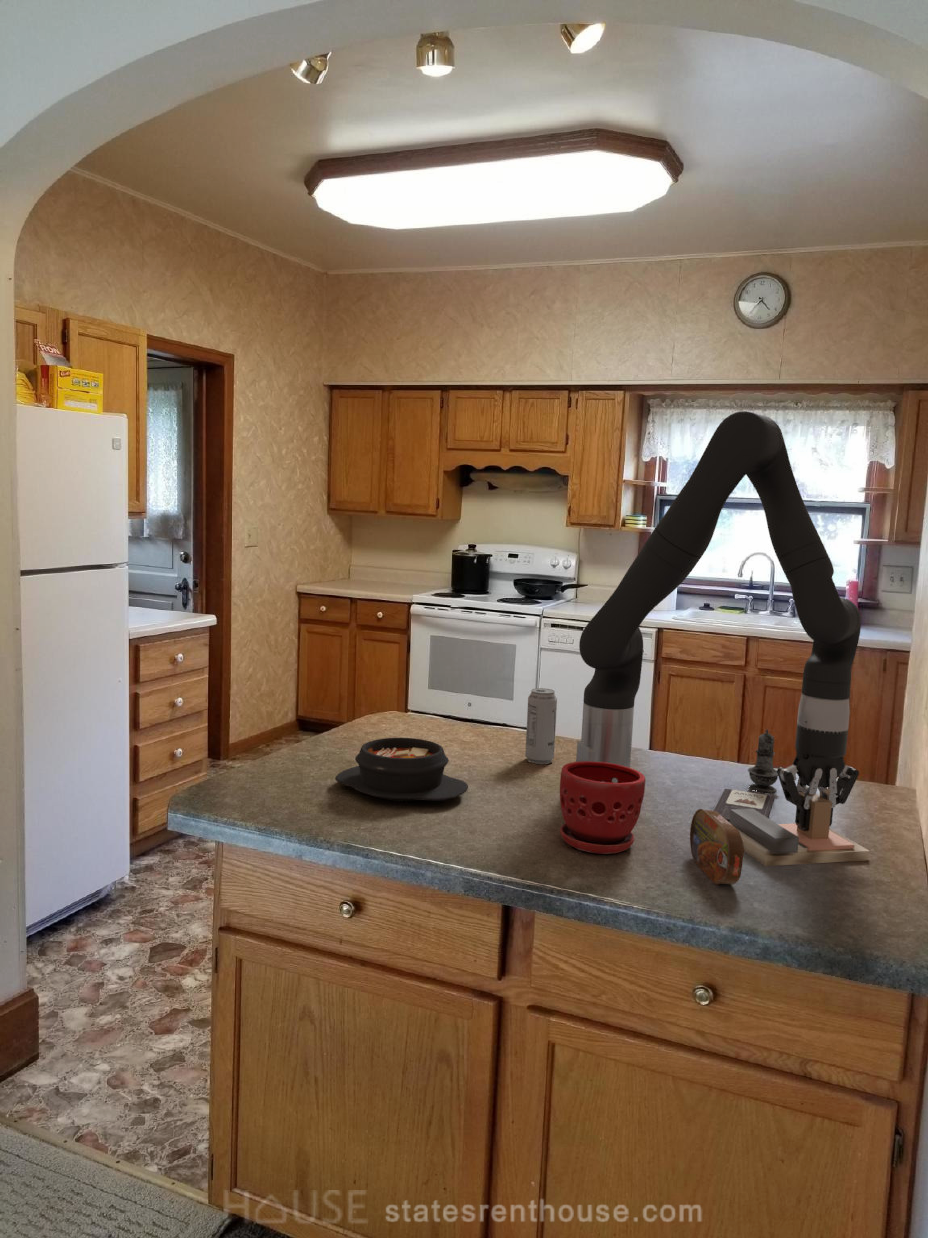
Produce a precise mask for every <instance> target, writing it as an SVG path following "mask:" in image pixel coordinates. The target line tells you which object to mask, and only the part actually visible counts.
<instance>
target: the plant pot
mask: <svg viewBox="0 0 928 1238" xmlns="http://www.w3.org/2000/svg"><path fill="white" fill-rule="evenodd" d="M613 778H616V779H617V780H618V782H617V783H613V782H612V779H613ZM559 779H560V780H559V802H560V803H559V804H560V809H561V815H562V817H563V820H564V824H563V825H561V827H560V831H559V832H560V836H561V838H562V839H563V840H564V842H565V843H566V844H568V845H569V846H571V847H572V848H575V849H576V850H577V851H580V852H581V851H582V852H586V853H592V854H601V855H608V854H609V855H610V854H617V853H622V852H623V851H626V850H628V849H629V848H630V847H631V846H633V844H634V841H635V835H634V834H633V830H634V829H635V826H636V825H637V822H638V820H639V818H640V815H641V811H642V805H643V801H644V796H645V791H646V789H645V788H646V776H645V775H644V774H643V773H642V772H640V771H639V770H637V769H634V768H632V767H630V768H629V767H626V766H622V765H618V764H612V763H606V762H594V761H580V762H576V761H574V762H569V763H566V764H564V765H563V766H562V767H561V772H560V778H559ZM601 781H604V782H601ZM582 796H583V797H582Z"/></svg>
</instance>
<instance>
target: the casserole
mask: <svg viewBox="0 0 928 1238" xmlns="http://www.w3.org/2000/svg"><path fill="white" fill-rule="evenodd" d="M354 759H355V762H356V763H357V764H358V765H357V766H353V767H349V768H346V769H345V770H342V771H341V772H339V773H338V774H337V775H335V781H336V782H338V783H339V784H342V785H345V786H348V787H350V788H353V789H354V790H356V791H358V792H360V793H361V794H362V793H363V794H365V795H368V796H372V797H375V798H377V799H381V800H388V801H393V802H395V801H396V802H411V801H419V800H421V801H434V802H435V801H436V802H437V801H439V802H440V801H446V800H452V799H454V798H456V797H459V796H461V795H464V794H466V792H468V789H469V785H468V783H467V782H465V781H463V780H461V779H458V778H455V777H451V776H448V775H446V774H444V771H445V767H446V766H447V765H449V761H450V760H449V758H448V757H447V755H446V754H445V751H444V748H443V746H442V745H440V744H439V743H436V742H434V741H432V740H431V741H430V740H427V739H423V738H421V739H420V738H414V737H412V738H411V737H387V738H379V739H374V740H370V741H367V742H365V743H363V745H361V747H360V750H359V752H358V754H357V755H356V756H355V757H354Z"/></svg>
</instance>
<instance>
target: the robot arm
mask: <svg viewBox="0 0 928 1238" xmlns="http://www.w3.org/2000/svg"><path fill="white" fill-rule="evenodd" d="M789 458H790V457H789V453H788V450H787V446H786V443H785V438H784V435H783V432H782V430H781V428H780V426H779V424H778V423H777V422H776V421H775V420H774V419H772V418H771V417H769V416H766V415H765V414H764V415H763V414H761V413H759V412H755V411H750V410H740V411H736V412H733V413H732V414H730V415H728V416H727V417H726V418H725V417H724V419H723V420H722V421H721V422H720V423H719V425H718V426H717V428H716V429H715V430H714V432H713V434H712V436H711V438H710V440H709V442H708V444H707V446H706V447H705V449H704V451H703V453H702V455H701V457H700V459H699V461H698V463H696V466H695V469H694V470H693V472H692V473H691V475H690V477H689V478H688V480H687V481H686V483H685V484H684V486H683V487H682V488H681V490H680V491H679V493H678V494H677V496H676V497H675V498H674V500H673V502H672V503H671V505H670V506H669V507H668V508H667V511H666V512H665V514H664V515H663V516H662V518H661V519H660V521H658V523H657V525H656V526H655V527H654V529H653V531H652V532H651V534H650V535H649V537H648V538H647V539H646V541H645V543H644V544H643V546H642V548H641V549H640V551H639V552H638V554H637V555H636V557H635V558H634V560H633V562H632V563H631V564H630V566H629V568H628V569H627V571H626V572H625V574H624V576H623V578H622V579H621V580H620V582H619V583H618V585H617V587H616V589H614V591H613V593H611V595H610V596H609V598H608V599H607V600H606V602H605V603H603V605H602V607H600V609H599V610H598V611H597V612H596V613H595V615H594V616H592V618H591V619H590V621H588V623H587V624H586V625H585V627H584V629H583V630H582V632H581V635H580V638H579V642H578V643H579V644H578V646H579V653H580V656H581V659H582V661H583V662H584V663H585V664H586V665H587V666H588V667H590V668H592V669H594V672H593V676H592V678H591V680H590V681H589V682H588V684H587V685H586V686H585V688H584V691H583V703H582V704H583V705H582V708H583V709H582V718H581V719H582V723H581V738H580V740H578V741H577V742H576V754H575V755H576V760H575V762H580V761H594V762H606V763H612V764H618V765H622V766H626V767H629V768H631V762H632V761H631V759H632V746H633V745H632V743H633V726H634V714H635V713H634V711H635V702H636V701H635V699H636V696H637V694H638V692H639V689H640V684H641V676H642V667H643V656H644V638H643V634H642V631H641V629H640V626H641V625H642V623H643V621H644V620H645V619H646V617H647V616H648V615H649V614H650V613H651V612H652V611H653V610H654V609H655V608H656V607H658V605H659V604H660V603H661V602H662V601H664V600H665V599H666V598H667V597H668V596H669V595H670V594H672V593H673V592H674V591H675V590H676V589H678V587H679V586H680V585H681V584H682V583H683V582H684V581H685V580H686V578H687V577H688V576H689V575H690V574H691V572H692V571H693V570H694V568H695V567H696V565H697V564H698V563H699V562H700V560H701V559H702V557H703V555H704V554H705V552H706V550H707V549H708V547H709V546H710V544H711V541H712V538H713V537H714V533H715V530H716V528H717V524H718V521H719V518H720V515H721V512H722V511H723V508H724V505H725V504H726V503H727V501H728V499H729V497H730V495H731V494H732V493H733V491H734V490H735V489H736V487H737V486H738V485H739V483H740V482H741V481H743V478H744V477H745V476H746V477H747V478H748V480H749V481H750V483H751V484H752V486H753V487H754V489H755V491H756V493H757V495H758V498H759V500H760V502H761V505H762V507H763V510H764V511H763V512H764V514H765V515H764V516H765V520H766V524H767V530H768V533H769V538H770V542H771V544H772V548H773V551H774V553H775V556H776V558H777V560H778V562H779V564H780V566H781V569H782V571H783V574H784V576H785V578H786V580H787V582H788V583H789V585H790V589H791V594H792V599H793V603H794V606H795V607H794V608H795V610H796V612H797V613H796V614H797V616H798V620H799V622H800V624H801V627H802V628H803V631H804V632H805V633H806V635H807V636H808V637H809V638H810V639H811V640H812V649H811V653H810V656H809V657H808V659H807V660H806V662H805V665H804V667H803V673H802V682H801V684H802V685H801V695H800V699H799V703H798V709H797V721H796V722H797V723H796V732H795V745H794V748H795V753H796V756H795V758H794V760H793V761H792V764H791V765H789V766H787V767H786V768H784V767H781V766H780V767H778V768H777V770H776V771H777V773H778V779H779V782H780V786H781V788H782V792H783V794H784V797H785V798H784V799H785V800H786V801H787V802H789V803H791V804H793V805H795V807H796V808H795V809H796V810H795V819H794V822H795V823H796V825H797V826H798V828H799V829H801V830H802V831H809V824H810V813H811V809H809V808H810V807H811V803H812V799H813V796H815V795H816V794H817V790H818V791H819V795H820V796H822V797H823V798H825V799H827V800H829V801H831V802H832V805H831V816H830V827H832V824H833V814H834V808H835V807H836V806H837V805H839V804H841V805H844V804H845V803H847V800H848V798H849V796H850V793H851V792H852V790H853V788H854V785H855V784H856V782H857V779H858V777H859V775H860V771H859V770H858V769H856V768H854V767H852V766H849V765H846V762H845V760H844V757H845V756H846V754H847V746H848V737H849V736H848V735H849V725H850V724H849V723H850V716H851V715H850V713H851V711H850V695H851V694H850V693H851V685H852V684H851V683H852V670H853V669H852V667H853V663H854V659H855V657H856V653H857V650H858V644H859V639H860V635H861V628H862V617H861V614H860V613H861V612H860V609H859V608H858V606H857V605H856V604H855V603H854V602H853V601H852V600H850V599H848V598H845V597H842V596H841V597H840V594H839V593H838V590H837V587H836V585H835V581H834V580H833V576H834V573H835V570H834V566H833V563H832V560H831V559H830V556H829V554H828V552H827V549H826V547H825V545H824V543H823V540H822V539H821V537H820V535H819V533H818V531H817V529H816V526H815V524H814V522H813V520H812V517H811V516H810V513H809V511H808V509H807V507H806V505H805V502H804V500H803V499H804V498H802V495H801V492H800V489H799V487H798V485H797V481H796V479H795V475H794V471H793V468H792V464H791V461H790V459H789ZM797 777H798V780H797ZM796 781H797V783H796ZM601 782H604V781H601ZM612 782H613V783H617V782H618V780H617V779H616V778H613V779H612ZM581 797H583V796H581Z"/></svg>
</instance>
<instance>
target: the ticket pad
mask: <svg viewBox="0 0 928 1238" xmlns="http://www.w3.org/2000/svg"><path fill="white" fill-rule="evenodd" d="M730 823H731V824H732V825H733V826H734V827H735V828H736V829H737V830H738V831H739V833H740V835H741V837H742V840H743V846H744V853H746V854H747V855H749V857H751V858H752V859H754V860H755V861H757V862H758V863H760V865H763V866H764V867H776V866H792V865H809V864H811V865H812V864H826V863H844V862H845V863H846V862H863V861H869V859H870V850H869V849H867V848H866V847H864V846H862V845H860V844H859V843H856V842H855V841H853V840H851V839H849V838H848V837H846V836H844V835H843V834H841V833H839V832H837V831H835V830H834V829H832V828H831V827H829V830H830V831H831V832H833V833H835V834H837V835H838V836H840V837H842V838H844V839H845V840H847V841H849V842H850V843H852V844H854V849H836V850H818V851H808V850H807V847H806V846H804V845H802V844H801V843H799V837H798V836H796V835H794V834H793V833H791V832H790V831H788V830H786V829H785V828H783V827H781V826H780V825H778V824H779V823H776V822H775V821H773V820H772V819H770V818H769V817H768V818H767V817H765V816H764V815H762V814H760V813H759V812H757V811H756V810H754V809H731V811H730Z"/></svg>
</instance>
